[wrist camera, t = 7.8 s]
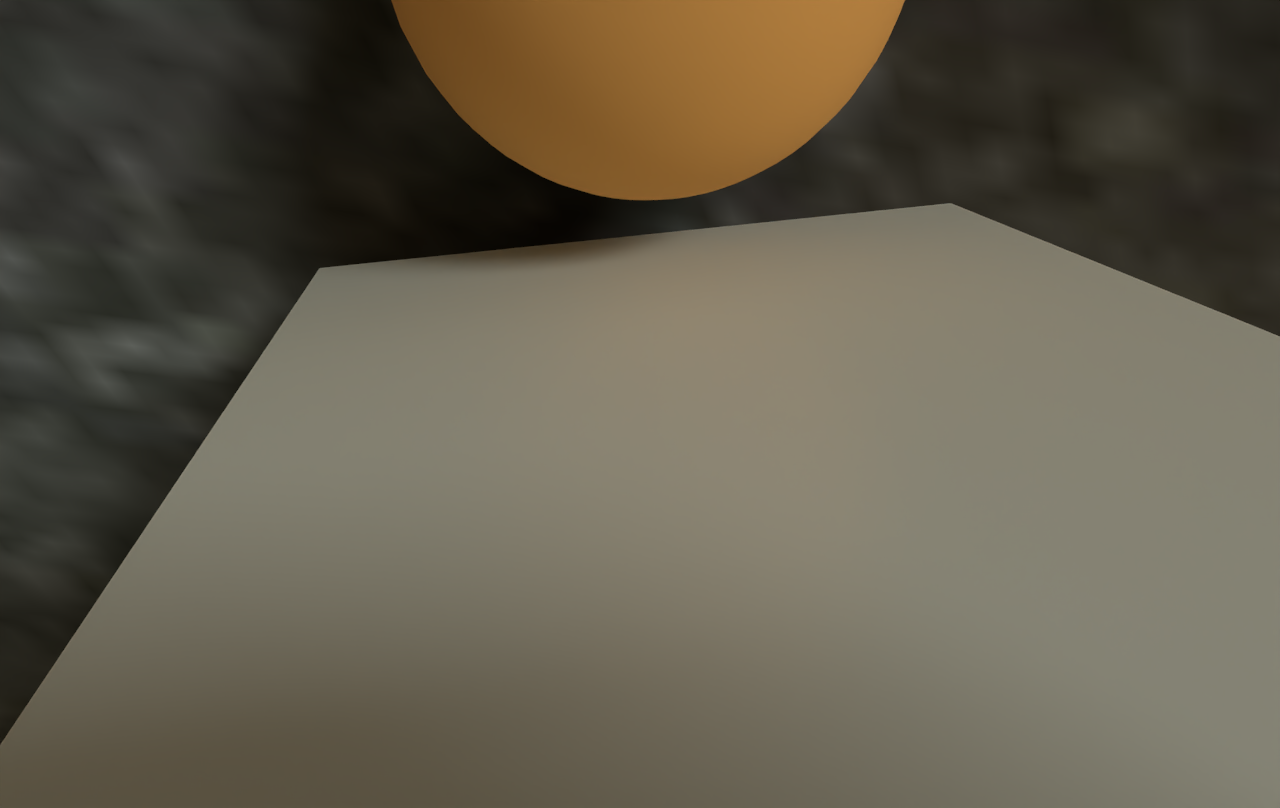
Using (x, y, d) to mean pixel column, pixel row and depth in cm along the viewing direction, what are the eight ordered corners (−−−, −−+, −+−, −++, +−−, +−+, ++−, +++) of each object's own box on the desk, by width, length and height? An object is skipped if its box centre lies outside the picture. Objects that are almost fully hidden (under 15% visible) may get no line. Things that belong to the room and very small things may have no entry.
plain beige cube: (907, 673, 14) (1456, 1539, 6) (432, 754, 13) (344, 1900, 5) (951, 202, 11) (2290, 747, 3) (319, 268, 10) (-422, 1371, 2)
